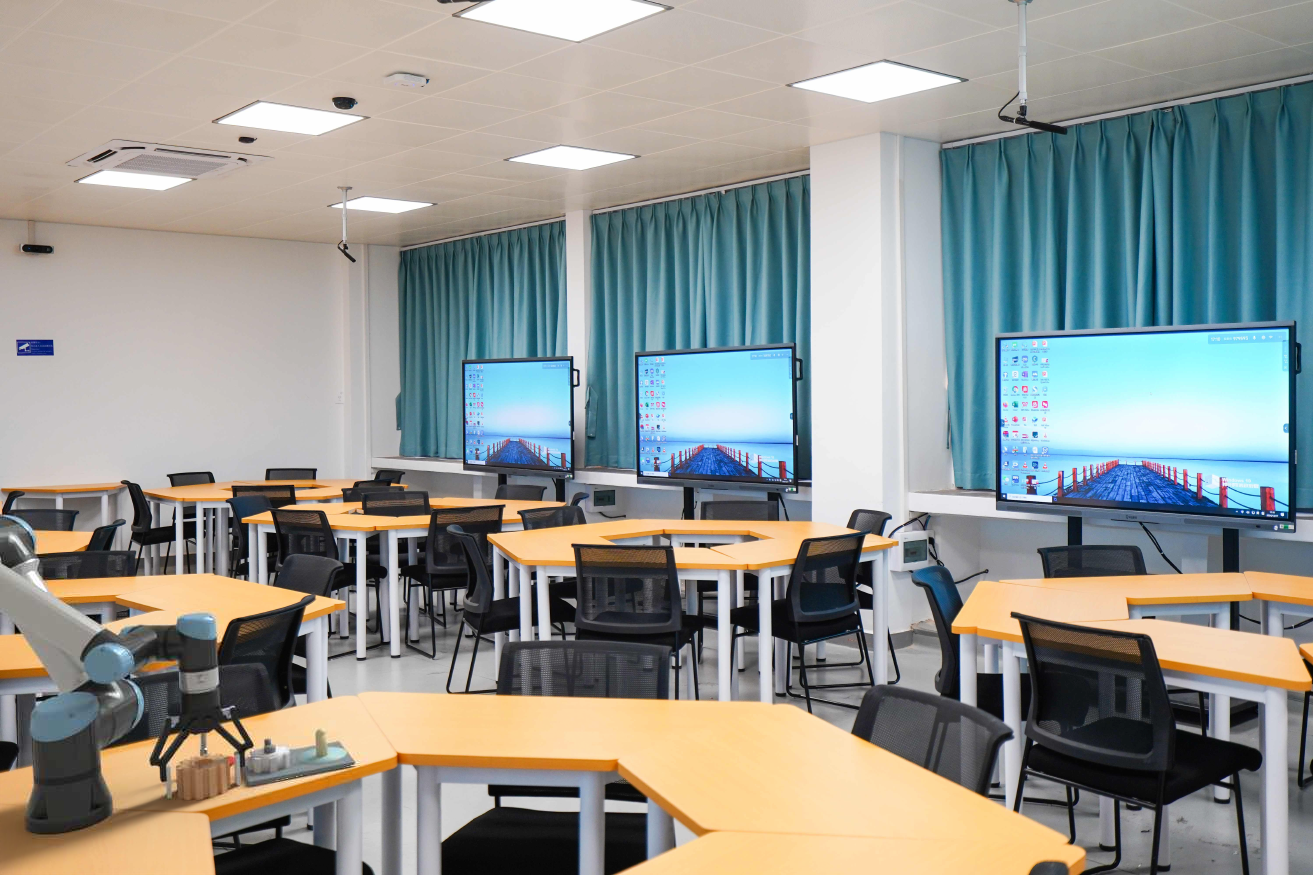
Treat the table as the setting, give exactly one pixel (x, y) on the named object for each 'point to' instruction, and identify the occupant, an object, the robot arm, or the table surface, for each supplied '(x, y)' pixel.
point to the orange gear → (203, 776)
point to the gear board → (294, 760)
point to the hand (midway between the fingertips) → (204, 789)
